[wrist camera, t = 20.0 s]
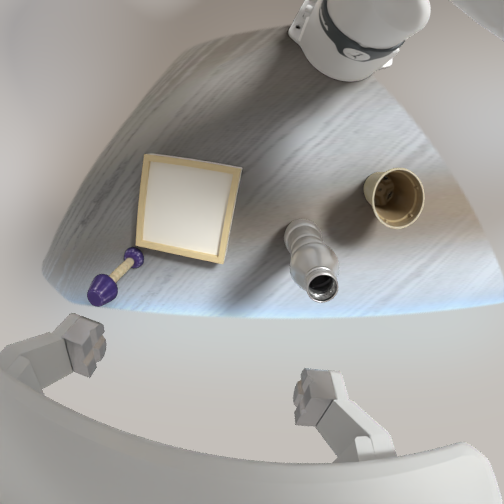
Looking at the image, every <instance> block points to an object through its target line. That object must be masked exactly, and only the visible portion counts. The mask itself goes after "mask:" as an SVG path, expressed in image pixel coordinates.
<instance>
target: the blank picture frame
mask: <svg viewBox="0 0 504 504" xmlns="http://www.w3.org/2000/svg"><path fill="white" fill-rule="evenodd" d="M242 169H243V167H237V166H232V165H227V164H221V163H215V162H209V161H203V160H197V159H190V158H183V157H176V156H169V155H161V154H153V153H152V154H144V160H143V167H142V175H141V184H140V193H139V204H138V216H137V230H136V246H140V247H145V248H149V249H154V250H158V251H163V252H168V253H172V254H177V255H182V256H186V257H191V258H196V259H201V260H205V261H210V262H215V263H220V264H223V263H224V260H225V257H226V253H227V247H228V242H229V236H230V231H231V225H232V220H233V215H234V209H235V204H236V199H237V194H238V189H239V184H240V179H241V174H242Z"/></svg>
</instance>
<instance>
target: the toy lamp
mask: <svg viewBox="0 0 504 504" xmlns="http://www.w3.org/2000/svg"><path fill="white" fill-rule="evenodd" d="M124 260H125V261H124V262H123V263H122V264H121V265H119V266H118V268H116V269H115V270H114V271H113V272H112V273H111V275H109V276H108V275H105V274H99V275H97V276H96V277H95V278H94V279H93V281H92V284H91V286H90V288H89V290H88V293H87V297H88V300H89V302H90V303H91V304H92V305H94V306H97V307H99V306H102V305H104V304H106V303H108V302H110V301H112V300H113V299H115V298H116V296H117V293H118V288H117V285H116V282H117V281H118V280H119V279H120V277H122V276H123V275H124V274H125V273H126V272H127V270H129V269H130V267H131V268H138V267H140V266H141V265H142V264H143V262H144V256H143V254H142V252H141V251H140V250H139V249H137V248H135V247H131V248H129V249H127V250H126V252H125V254H124Z"/></svg>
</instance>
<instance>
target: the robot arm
mask: <svg viewBox="0 0 504 504" xmlns="http://www.w3.org/2000/svg"><path fill="white" fill-rule="evenodd" d="M449 1H450V2H451V3H453V4H454V5H455V6H457V7H458V8H459V9H461V10H462V11H463V12H464V13H466V14H467V15H468V16H470V17H471V18H472V19H473V20H474V21H475V22H476V23H478V24H479V25H481V26H482V27H484V28H485V29H487V30H488V31H490V32H491V33H493V34H494V35H495V36H497V37H498V38H500V39H501V40H502V41H504V0H449ZM430 12H431V8H430V2H429V0H304V2H303V4H302V6H301V8H300V10H299V12H298V13H297V15H296V17H295V19H294V21H293V23H292V25H291V27H290V28H289V31H288V35H289V36H290V37H291V38H292V39H293V40H294V41H295V42H296V43H297V44H299V45H300V47H301V48H302V50H303V52H304V54H305V56H306V58H307V59H308V60H309V62H310V63H311V64H312V65H313V66H314V67H315V68H316V69H317V70H319V71H320V72H321V73H323V74H325V75H327V76H329V77H331V78H333V79H336V80H340V81H347V82H353V81H360V80H363V79H365V78H367V77H369V76H370V75H372V74H373V73H374V72H375V71H377V70H380V69H385V68H388V67H390V66H391V65H392V58H393V57H394V56H395V55H396V54H397V53H398V52H399V48H400V47H401V45H402V44H403V43H404V42H405V40H406V39H407V38H409V37H410V36H412V35H413V34H415V33H416V32H418V31H420V30H421V29H423V28H424V26H425V25H426V24H427V22H428V20H429V17H430ZM297 26H298V27H300V29H297V28H296V27H297ZM103 333H104V326H103V324H101V323H99V322H96V321H93V320H91V319H88V318H86V317H83V316H80V315H77V314H75V313H71V314H69V316H68V317H67V318H66V319H65V320H64V321H63V322H62V323H61V324H60V325H59V326H58V327H57V328H56V329H55V330H54V331H53V332H52V333H50V332H48V333H45V334H42V335H39V336H35V337H32V338H29V339H26V340H23V341H20V342H16V343H13V344H10V345H7V346H6V347H5V348H4V349H3V350H2V351H1V352H0V504H503V502H502V498H501V494H500V491H499V487H498V483H497V480H496V477H495V474H494V472H493V469H492V466H491V464H490V462H489V460H488V459H487V457H486V456H484V455H483V454H482V453H481V452H480V451H478V450H477V449H476V448H474V447H473V446H472V445H470V444H468V443H466V442H459V443H455V444H451V445H448V446H444V447H441V448H436V449H432V450H428V451H424V452H420V453H414V454H409V455H404V456H398V457H397V455H396V452H395V448H394V445H393V442H392V439H391V436H390V433H389V432H387V431H386V430H385V429H384V428H383V427H382V426H380V425H379V424H378V423H377V422H376V421H375V420H374V419H372V417H371V416H369V415H368V414H367V413H366V412H365V411H364V410H363V409H362V408H360V407H359V406H358V405H357V404H356V403H355V402H354V401H353V400H349V396H348V393H347V389H346V386H345V383H344V379H343V376H342V373H341V372H340V371H331V370H318V369H308V368H304V370H303V371H302V373H301V380H300V381H298V382H297V384H296V386H295V390H294V396H293V402H294V405H295V406H296V407H297V408H296V410H295V412H294V414H295V425H302V426H315V427H316V429H317V430H318V432H319V433H320V434H321V435H322V437H323V438H324V440H325V441H326V442H327V443H328V445H329V446H330V447H331V449H332V450H333V451H334V453H335V454H336V455H337V456H338V458H337V459H336V460H335V461H334V462H333V463H318V464H317V463H316V464H315V463H313V464H312V463H311V464H309V463H277V462H264V461H254V460H244V459H237V458H230V457H223V456H217V455H212V454H206V453H200V452H196V451H191V450H187V449H183V448H178V447H174V446H171V445H166V444H162V443H159V442H155V441H152V440H149V439H145V438H143V437H139V436H136V435H133V434H130V433H127V432H125V431H122V430H119V429H116V428H114V427H111V426H108V425H106V424H103V423H101V422H98V421H96V420H94V419H91V418H89V417H87V416H85V415H82V414H80V413H78V412H76V411H74V410H72V409H69V408H67V407H65V406H63V405H61V404H59V403H58V402H55V401H54V400H52V399H50V398H48V397H46V396H45V395H44V393H43V391H42V389H43V388H45V387H47V386H49V385H51V384H53V383H54V382H56V381H58V380H60V379H62V378H63V377H65V376H67V375H69V374H71V373H72V372H73V371H74V372H76V373H79V374H82V375H84V376H87V377H89V378H90V377H91V375H92V374H93V372H94V371H95V369H96V362H98V361H101V359H102V358H103V356H104V354H105V351H106V340H105V338H104V337H103V335H102V334H103Z"/></svg>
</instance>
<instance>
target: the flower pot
mask: <svg viewBox="0 0 504 504" xmlns="http://www.w3.org/2000/svg"><path fill="white" fill-rule="evenodd" d="M384 176H385V177H387V178H388V180H386V179H384V178H383V177H384ZM379 189H381V191H379ZM389 192H391V195H390V197H389V198H388V195H389ZM364 195H365V198H366V200H367V201H368V202H369V203H370V205H371V206H372V208H373V211H374V213H375V215H376V217H377V219H378V220H379V221H380V222H381V223H382V224H383V225H385V226H387V227H389V228H392V229H401V228H405V227H407V226H409V225H411V224H412V223H413V222H415V220H416V219H417V218H418V217H419V215H420V214H421V212H422V209H423V205H424V196H425V194H424V189H423V185H422V183H421V181H420V179H419V178H418V177H417V176H416V175H415V174H414V173H413V172H411V171H410V170H408V169H405V168H393V169H390V170H388V171H386V172H376V173H373V174H372V175H370V176H369V177H368V178H367V179H366V181H365V184H364ZM374 200H375V201H376V203H375V202H374Z"/></svg>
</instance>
